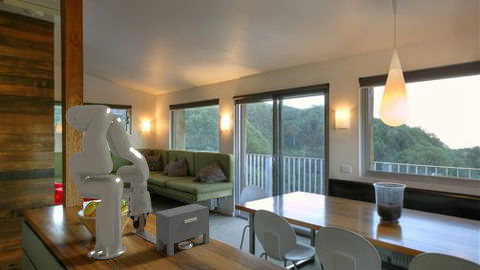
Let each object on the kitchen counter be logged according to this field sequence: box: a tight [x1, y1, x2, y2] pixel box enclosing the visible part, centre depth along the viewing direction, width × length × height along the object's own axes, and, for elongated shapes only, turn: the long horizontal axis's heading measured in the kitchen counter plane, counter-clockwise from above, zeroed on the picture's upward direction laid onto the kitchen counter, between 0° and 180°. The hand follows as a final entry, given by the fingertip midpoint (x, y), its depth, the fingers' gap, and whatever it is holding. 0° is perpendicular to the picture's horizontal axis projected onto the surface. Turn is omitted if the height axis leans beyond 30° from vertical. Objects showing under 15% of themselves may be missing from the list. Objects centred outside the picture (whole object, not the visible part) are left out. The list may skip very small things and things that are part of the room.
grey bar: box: [131, 214, 156, 245], centre depth 140 cm, size 5×23×9 cm, turn 44°
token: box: [178, 240, 194, 251], centre depth 127 cm, size 6×6×2 cm
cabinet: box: [155, 203, 210, 257], centre depth 127 cm, size 20×11×16 cm, turn 135°
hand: (139, 227), depth 145 cm, fingers open, 3 cm apart
